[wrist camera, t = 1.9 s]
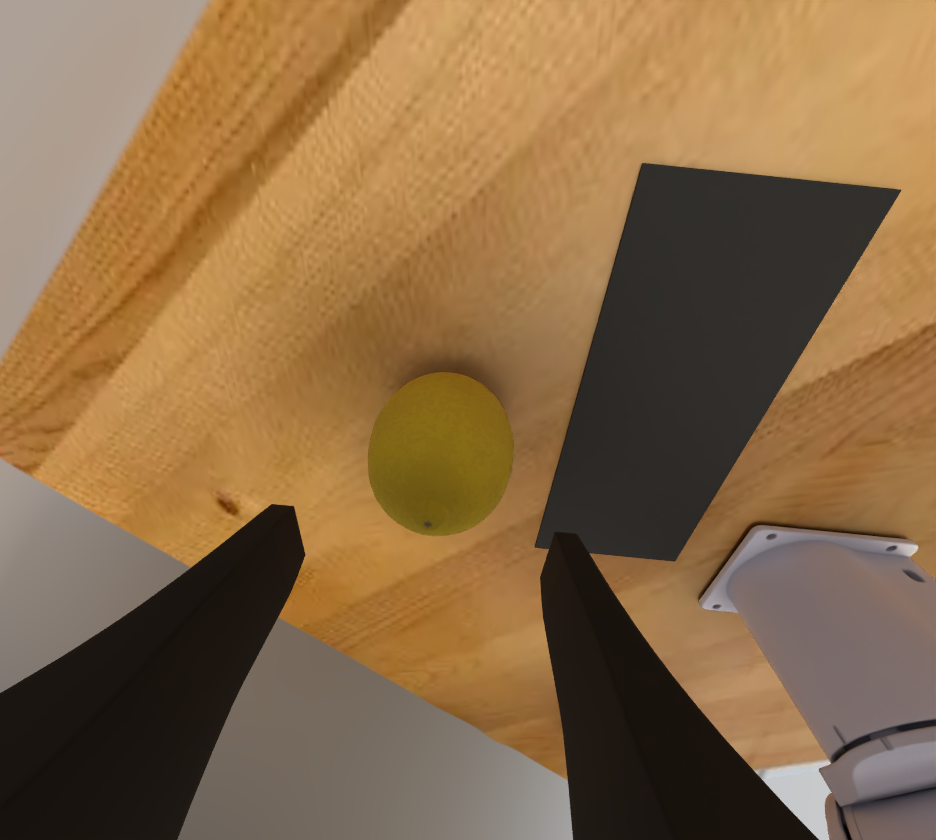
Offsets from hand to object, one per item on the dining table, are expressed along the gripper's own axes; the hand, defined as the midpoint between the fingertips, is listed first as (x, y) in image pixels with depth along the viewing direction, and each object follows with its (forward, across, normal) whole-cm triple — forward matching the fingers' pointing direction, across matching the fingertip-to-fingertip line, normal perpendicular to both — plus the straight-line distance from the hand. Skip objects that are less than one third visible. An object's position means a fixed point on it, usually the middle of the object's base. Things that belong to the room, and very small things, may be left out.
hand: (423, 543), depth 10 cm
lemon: (+9, 0, 0) cm, 9 cm away
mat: (+9, -11, 0) cm, 14 cm away
